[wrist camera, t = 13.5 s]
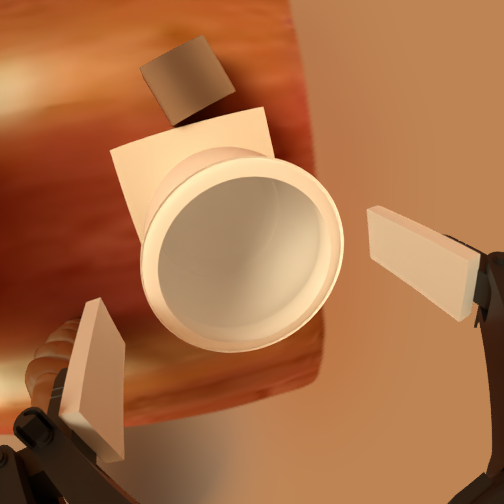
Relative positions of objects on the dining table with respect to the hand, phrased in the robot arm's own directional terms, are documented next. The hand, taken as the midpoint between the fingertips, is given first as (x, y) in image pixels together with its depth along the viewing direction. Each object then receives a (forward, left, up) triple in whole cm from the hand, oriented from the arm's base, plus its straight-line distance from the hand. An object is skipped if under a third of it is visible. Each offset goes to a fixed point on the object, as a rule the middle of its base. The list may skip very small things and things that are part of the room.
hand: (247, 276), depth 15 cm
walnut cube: (+1, +11, -21) cm, 24 cm away
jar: (0, 0, -16) cm, 16 cm away
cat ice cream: (-19, -11, -21) cm, 30 cm away
